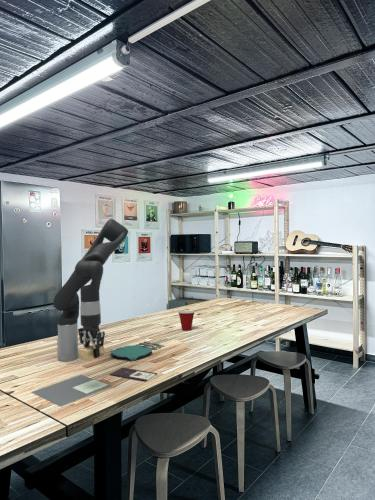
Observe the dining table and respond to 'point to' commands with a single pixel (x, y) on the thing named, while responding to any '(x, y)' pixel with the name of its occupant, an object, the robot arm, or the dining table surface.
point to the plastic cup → (186, 319)
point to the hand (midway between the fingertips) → (91, 356)
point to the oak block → (89, 353)
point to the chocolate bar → (133, 374)
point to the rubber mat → (70, 390)
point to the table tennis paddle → (134, 351)
